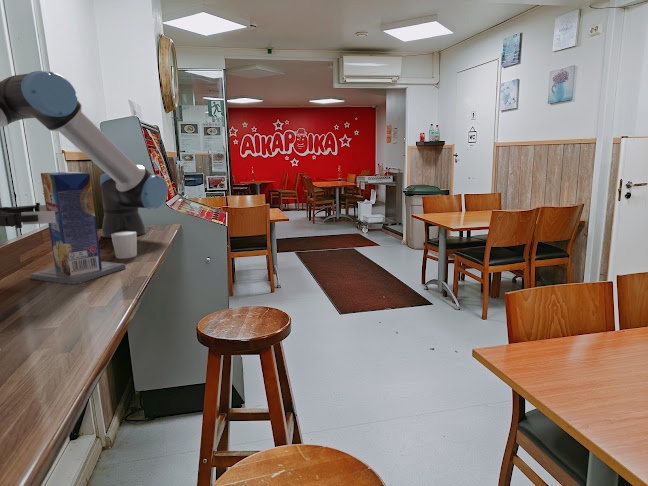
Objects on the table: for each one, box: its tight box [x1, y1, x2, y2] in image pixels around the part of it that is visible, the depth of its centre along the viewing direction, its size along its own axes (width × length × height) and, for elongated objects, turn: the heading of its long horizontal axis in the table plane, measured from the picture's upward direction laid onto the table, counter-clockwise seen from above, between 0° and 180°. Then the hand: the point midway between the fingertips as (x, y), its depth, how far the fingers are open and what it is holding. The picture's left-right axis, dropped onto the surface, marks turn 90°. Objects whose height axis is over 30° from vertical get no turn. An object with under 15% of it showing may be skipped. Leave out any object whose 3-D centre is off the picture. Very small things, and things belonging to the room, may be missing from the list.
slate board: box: [29, 260, 126, 285], centre depth 108 cm, size 15×15×1 cm
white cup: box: [111, 231, 138, 260], centre depth 125 cm, size 7×7×7 cm
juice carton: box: [40, 171, 102, 276], centre depth 105 cm, size 12×8×24 cm, turn 46°
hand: (62, 212), depth 104 cm, fingers open, 13 cm apart
